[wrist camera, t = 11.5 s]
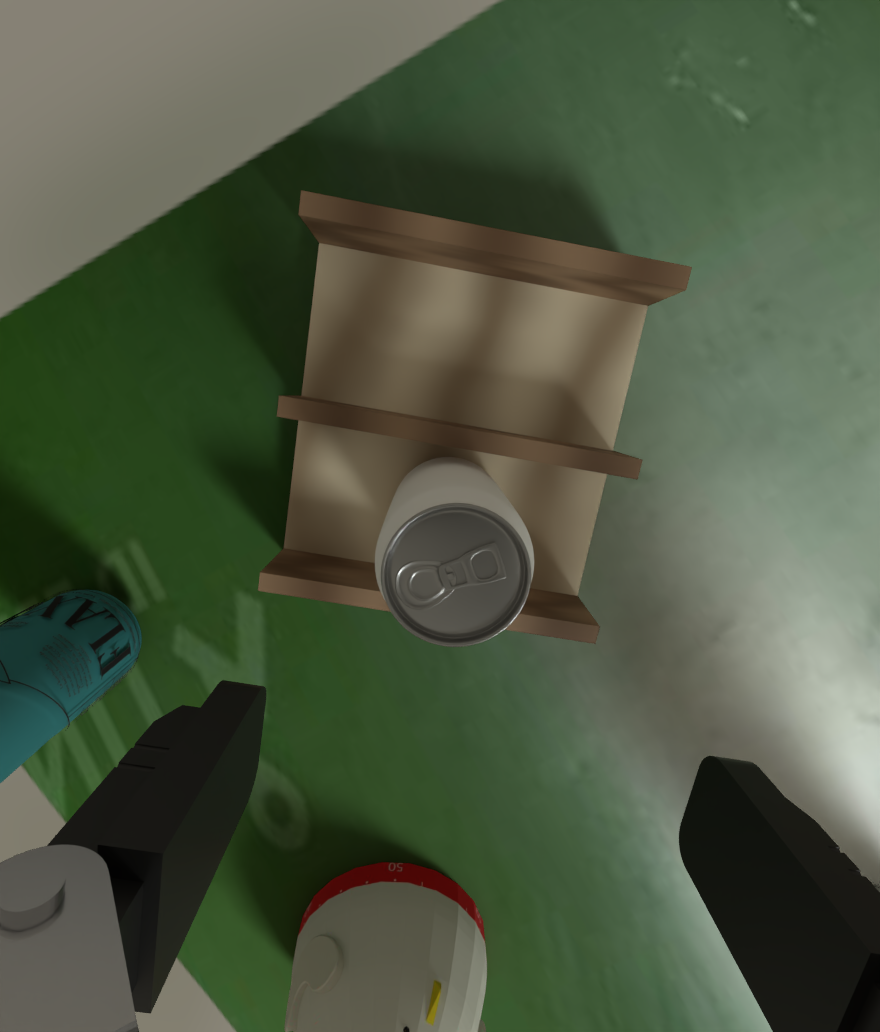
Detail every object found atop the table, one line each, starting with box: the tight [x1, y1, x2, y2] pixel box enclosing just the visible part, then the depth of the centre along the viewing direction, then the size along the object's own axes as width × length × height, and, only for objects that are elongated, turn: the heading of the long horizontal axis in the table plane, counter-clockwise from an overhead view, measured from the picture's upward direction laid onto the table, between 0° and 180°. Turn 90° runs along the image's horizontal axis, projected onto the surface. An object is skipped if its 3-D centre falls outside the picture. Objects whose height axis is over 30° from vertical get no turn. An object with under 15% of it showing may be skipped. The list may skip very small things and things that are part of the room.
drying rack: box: [258, 190, 692, 644], centre depth 29 cm, size 18×19×6 cm
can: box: [375, 457, 534, 647], centre depth 26 cm, size 6×6×12 cm
